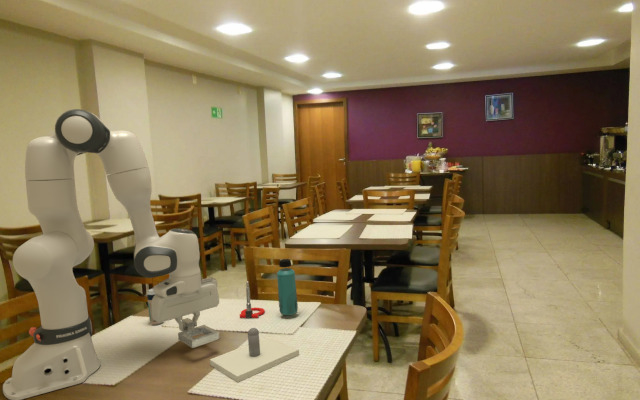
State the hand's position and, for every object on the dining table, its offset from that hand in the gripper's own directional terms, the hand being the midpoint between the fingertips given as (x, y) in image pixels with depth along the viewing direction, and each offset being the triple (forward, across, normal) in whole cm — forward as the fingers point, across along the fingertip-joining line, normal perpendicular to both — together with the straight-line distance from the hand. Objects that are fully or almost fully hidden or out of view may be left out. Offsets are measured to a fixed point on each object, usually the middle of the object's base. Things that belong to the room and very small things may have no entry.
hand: (188, 328), depth 134 cm
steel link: (+2, 0, +4) cm, 4 cm away
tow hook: (+6, -29, -8) cm, 31 cm away
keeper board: (+5, -8, +22) cm, 24 cm away
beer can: (+7, -2, -28) cm, 29 cm away
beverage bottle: (+5, -36, +4) cm, 36 cm away
